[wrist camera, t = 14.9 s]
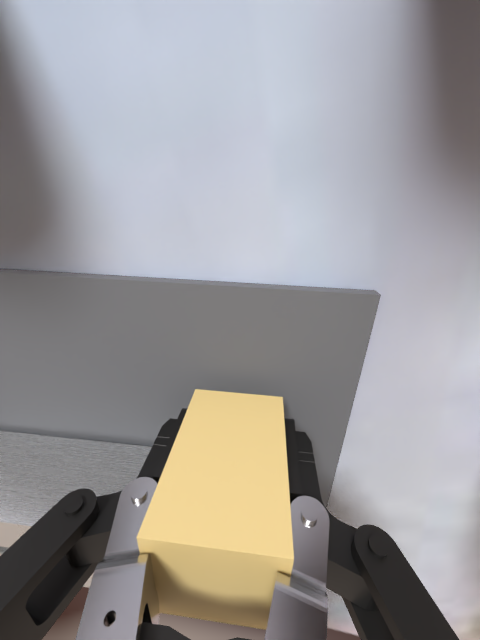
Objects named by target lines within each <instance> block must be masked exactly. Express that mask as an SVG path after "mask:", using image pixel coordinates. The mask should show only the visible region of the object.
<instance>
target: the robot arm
mask: <svg viewBox="0 0 480 640" xmlns="http://www.w3.org/2000/svg"><path fill="white" fill-rule="evenodd" d="M186 411H187V408H182V410H181V412H180V414H179V416H178V419H172V418H170V419H169V420H168V421H167V422H166V423H165V424H164V425H163V426H162V427H161V429H160V431H159V433H158V435H157V438H156V439H155V441H154V444H153V446H152V448H151V450H150V452H149V454H148V456H147V458H146V460H145V462H144V464H143V466H142V469H141V471H140V473H139V475H138V476H137V478H136V479H135V480H133V481H131V482H130V483H128V484H127V485H126V486H125V487H124V489H123V490H122V491H119V492H116V493H112V494H107V495H103V496H98V497H96V495H95V493H94V492H93V491H92V490H90V489H87V488H82V489H77V490H75V491H72V492H70V493H69V494H67V495H66V496H64V497H63V498H62V499H61V500H60V501H59V502H58V503H57V504H55V505H54V506H53V507H52V508H51V509H50V510H49V511H48V512H47V513H46V514H45V515H44V516H43V517H42V518H40V519H39V520H38V521H37V522H36V523H35V524H34V525H33V526H32V527H31V528H30V529H29V530H28V531H26V532H25V533H24V534H23V535H22V536H21V537H20V538H19V539H18V540H17V541H16V542H15V543H14V544H13V545H11V546H10V547H9V548H8V549H7V550H6V551H5V552H4V553H3V554H2V555H1V556H0V640H42V638H43V637H44V636H45V635H46V633H47V632H48V631H49V630H50V628H51V627H52V626H53V624H54V623H55V622H56V620H57V619H58V618H59V617H60V615H61V614H62V613H63V611H64V610H65V609H66V607H67V606H68V605H69V603H70V602H71V601H72V600H73V598H74V597H75V596H76V595H77V593H78V592H79V591H80V589H81V588H82V587H83V585H84V584H85V583H86V582H87V580H88V579H89V578H90V576H91V575H92V574H93V572H94V574H93V577H92V581H91V585H90V588H89V592H88V596H87V600H86V603H85V607H84V610H83V614H82V618H81V621H80V625H79V629H78V632H77V636H76V640H190V639H189V638H187V637H185V636H183V635H182V634H181V633H179V632H177V631H176V630H174V629H172V628H171V627H169V626H163V625H159V599H158V593H157V590H156V587H155V582H154V576H153V567H152V561H151V556H150V553H140V552H139V547H138V543H137V538H136V537H137V535H138V532H139V530H140V527H141V525H142V522H143V520H144V517H145V515H146V512H147V510H148V507H149V505H150V502H151V500H152V497H153V495H154V492H155V490H156V487H157V485H158V482H159V479H160V477H161V474H162V472H163V469H164V467H165V464H166V462H167V459H168V457H169V454H170V452H171V449H172V447H173V444H174V442H175V439H176V437H177V434H178V432H179V429H180V427H181V424H182V422H183V419H184V417H185V414H186ZM284 421H285V436H286V450H287V464H288V479H289V493H290V507H291V522H292V536H293V550H294V562H293V567H292V572H291V575H289V574H285V573H281V572H277V576H276V581H275V587H274V592H273V597H272V602H271V608H270V613H269V618H268V624H267V629H266V635H265V639H264V640H326V636H327V615H328V597H327V594H326V588H328V589H330V590H331V591H333V592H335V593H337V594H338V595H340V596H342V598H343V600H344V602H345V605H346V607H347V609H348V612H349V614H350V616H351V618H352V621H353V623H354V625H355V628H356V630H357V632H358V635H359V637H360V639H361V640H459V639H458V637H457V636H456V634H455V633H454V631H453V630H452V628H451V627H450V625H449V623H448V622H447V620H446V619H445V617H444V616H443V614H442V613H441V611H440V610H439V608H438V607H437V605H436V604H435V602H434V601H433V599H432V598H431V596H430V595H429V593H428V592H427V590H426V589H425V587H424V586H423V584H422V583H421V581H420V579H419V578H418V576H417V575H416V573H415V572H414V570H413V569H412V567H411V566H410V564H409V563H408V561H407V560H406V558H405V557H404V555H403V554H402V552H401V551H400V549H399V548H398V546H397V545H396V543H395V542H394V540H393V539H392V538H391V537H390V536H389V535H388V534H387V533H386V532H385V531H383V530H382V529H380V528H379V527H376V526H374V525H362V526H360V527H359V528H358V529H356V528H354V527H352V526H349V525H347V524H345V523H343V522H341V521H339V520H338V519H336V518H335V517H334V516H332V515H331V514H330V513H329V511H328V510H327V509H326V507H325V506H324V504H323V502H322V498H321V494H320V488H319V482H318V477H317V471H316V465H315V459H314V454H313V448H312V442H311V440H310V439H309V437H308V436H307V434H306V433H305V432H300V431H296V430H295V422H294V419H288V418H284ZM230 640H249V639H243V638H234V639H230Z"/></svg>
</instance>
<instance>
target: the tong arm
mask: <svg viewBox="0 0 480 640" xmlns="http://www.w3.org/2000/svg"><path fill="white" fill-rule="evenodd" d="M151 448H152V447H149V446H139V445H130V444H121V443H111V442H102V441H93V440H83V439H74V438H65V437H55V436H46V435H37V434H27V433H18V432H9V431H0V546H1V547H8V548H9V547H10V546H11V545H13V544H14V543H15V542H16V541H17V540H18V539H19V538H20V537H21V536H22V535H23V534H24V533H25V532H26V531H28V530H29V529H30V528H31V527H32V526H33V525H34V524H35V523H36V522H37V521H38V520H39V519H40V518H42V517H43V516H44V515H45V514H46V513H47V512H48V511H49V510H50V509H51V508H52V507H53V506H54V505H55V504H57V503H58V502H59V501H60V500H61V499H62V498H63V497H64V496H66V495H67V494H69V493H70V492H72V491H75V490H77V489H82V488H87V489H90V490H92V491H93V492H94V493H95V495H96V497H98V496H103V495H107V494H112V493H116V492H119V491H122V490H123V489H124V487H125V486H126V485H127V484H128V483H130V482H131V481H133V480H135V479H136V478H137V476H138V475H139V473H140V471H141V469H142V466H143V464H144V462H145V460H146V458H147V456H148V454H149V452H150V450H151Z"/></svg>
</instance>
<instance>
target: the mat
mask: <svg viewBox="0 0 480 640" xmlns="http://www.w3.org/2000/svg"><path fill="white" fill-rule="evenodd" d="M380 296H381V295H380V294H379V293H378V292H376V291H374V290H357V289H340V288H323V287H305V286H288V285H271V284H253V283H236V282H219V281H202V280H184V279H167V278H150V277H132V276H115V275H98V274H81V273H63V272H46V271H29V270H11V269H0V431H9V432H18V433H27V434H37V435H46V436H55V437H65V438H74V439H83V440H93V441H102V442H111V443H121V444H130V445H139V446H149V447H152V446H153V444H154V441H155V439H156V438H157V435H158V433H159V431H160V429H161V427H162V426H163V425H164V424H165V423H166V422H167V421H168V420H169V419H170V418H172V419H178V416H179V414H180V412H181V410H182V408H187V409H188V406H189V404H190V401H191V399H192V396H193V394H194V391H195V389H200V390H211V391H222V392H233V393H245V394H256V395H267V396H278V397H283V407H284V418H288V419H294V422H295V430H296V431H300V432H305V433H306V434H307V436H308V437H309V439H310V440H311V442H312V448H313V454H314V459H315V465H316V471H317V477H318V482H319V488H320V494H321V498H322V502H323V504H324V506H325V507H327V503H328V499H329V495H330V492H331V488H332V484H333V480H334V476H335V472H336V468H337V464H338V460H339V456H340V452H341V448H342V445H343V441H344V437H345V433H346V429H347V425H348V421H349V417H350V413H351V409H352V405H353V401H354V398H355V394H356V390H357V386H358V382H359V378H360V374H361V370H362V366H363V362H364V358H365V354H366V351H367V347H368V343H369V339H370V335H371V331H372V327H373V323H374V319H375V315H376V311H377V307H378V304H379V300H380Z"/></svg>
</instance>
